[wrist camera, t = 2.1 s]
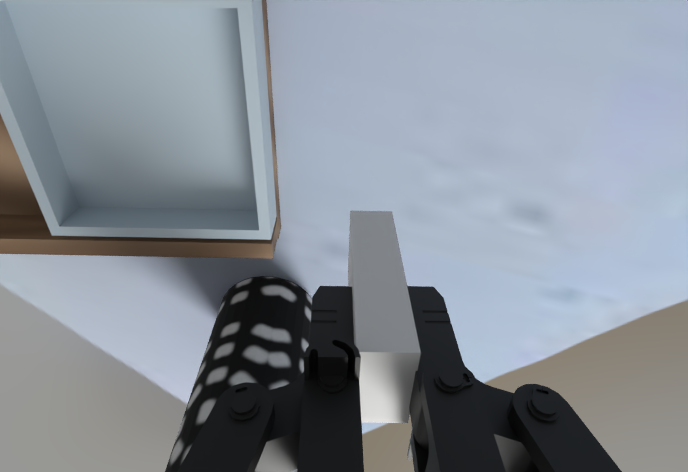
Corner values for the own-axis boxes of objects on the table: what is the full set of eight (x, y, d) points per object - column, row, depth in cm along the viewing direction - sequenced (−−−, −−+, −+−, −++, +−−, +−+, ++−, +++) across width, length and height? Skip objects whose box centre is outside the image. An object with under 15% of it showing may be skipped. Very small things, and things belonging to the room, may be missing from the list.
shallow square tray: (-11, -22, 22) (-55, -18, 20) (260, -13, 23) (250, -9, 20) (75, 211, 30) (51, 235, 28) (276, 215, 30) (271, 239, 28)
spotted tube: (202, 296, 37) (86, 585, 20) (287, 263, 35) (239, 552, 18) (253, 355, 41) (193, 635, 24) (332, 329, 39) (326, 613, 22)
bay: (-223, -75, 22) (-336, -80, 19) (262, -59, 23) (247, -61, 19) (-54, 220, 32) (-105, 256, 29) (280, 227, 33) (273, 263, 29)
